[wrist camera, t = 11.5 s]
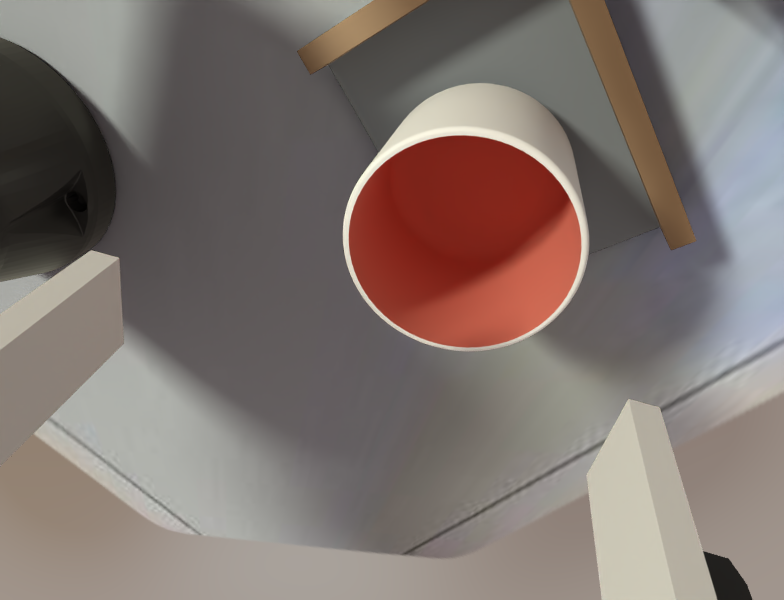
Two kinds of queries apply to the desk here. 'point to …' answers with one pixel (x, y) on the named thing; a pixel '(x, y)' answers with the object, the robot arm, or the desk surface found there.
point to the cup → (469, 221)
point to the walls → (613, 72)
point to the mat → (512, 69)
